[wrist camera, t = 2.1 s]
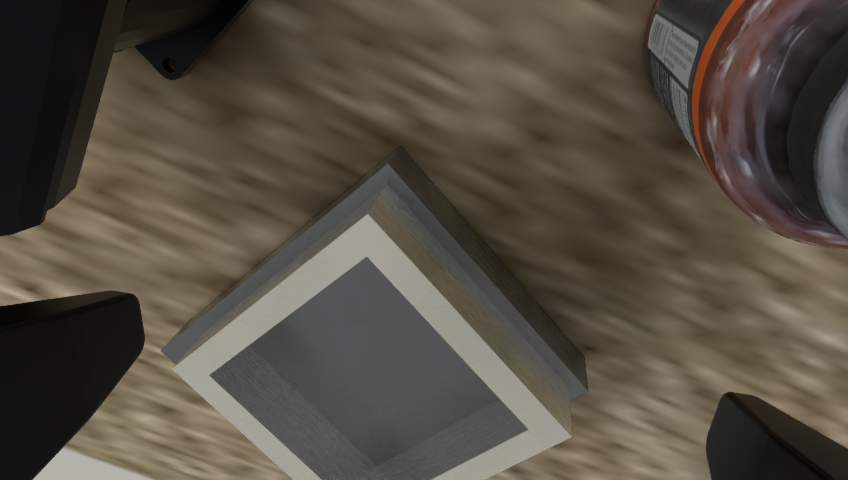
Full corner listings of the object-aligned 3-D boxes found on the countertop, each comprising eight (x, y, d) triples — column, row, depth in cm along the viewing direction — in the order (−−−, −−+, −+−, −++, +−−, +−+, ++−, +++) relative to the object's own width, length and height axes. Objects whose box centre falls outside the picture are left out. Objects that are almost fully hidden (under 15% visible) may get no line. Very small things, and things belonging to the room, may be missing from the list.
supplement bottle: (843, -115, 16) (1332, -215, 6) (868, 96, 18) (1267, 277, 8) (617, -26, 18) (711, 9, 8) (662, 157, 20) (785, 367, 10)
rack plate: (400, 145, 21) (368, 191, 17) (584, 358, 24) (593, 440, 20) (186, 324, 27) (123, 390, 23) (355, 483, 29) (325, 568, 25)
